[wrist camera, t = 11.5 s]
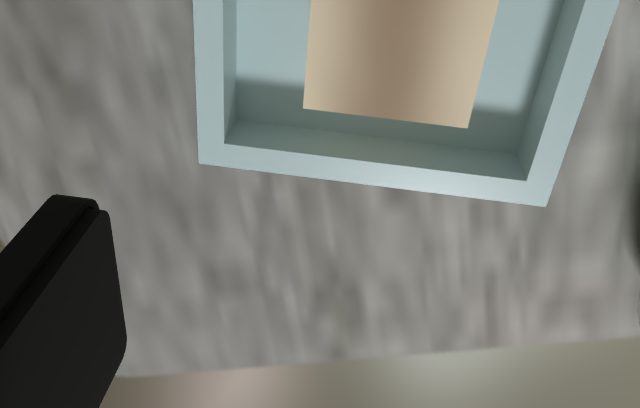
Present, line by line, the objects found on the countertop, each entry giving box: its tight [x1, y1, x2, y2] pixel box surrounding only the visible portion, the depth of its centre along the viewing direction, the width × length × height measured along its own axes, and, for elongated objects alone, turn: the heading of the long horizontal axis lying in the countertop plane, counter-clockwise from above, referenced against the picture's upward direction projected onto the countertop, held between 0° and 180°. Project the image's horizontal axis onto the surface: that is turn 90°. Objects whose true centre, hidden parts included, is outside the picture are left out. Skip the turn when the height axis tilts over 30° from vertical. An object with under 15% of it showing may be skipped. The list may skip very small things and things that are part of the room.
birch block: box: [303, 0, 499, 128], centre depth 22 cm, size 6×6×6 cm
